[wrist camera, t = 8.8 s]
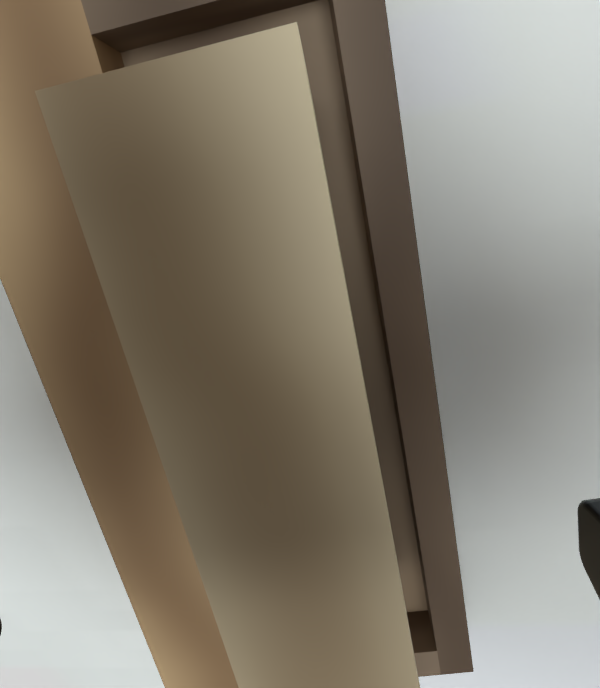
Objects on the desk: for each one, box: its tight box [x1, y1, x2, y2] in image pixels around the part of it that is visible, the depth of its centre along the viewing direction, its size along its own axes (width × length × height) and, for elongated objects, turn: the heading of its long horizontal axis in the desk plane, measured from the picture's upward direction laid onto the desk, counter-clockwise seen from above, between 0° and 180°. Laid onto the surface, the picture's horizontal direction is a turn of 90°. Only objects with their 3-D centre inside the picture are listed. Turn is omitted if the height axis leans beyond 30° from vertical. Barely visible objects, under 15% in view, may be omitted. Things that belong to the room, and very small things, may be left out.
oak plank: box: [35, 22, 420, 688], centre depth 11 cm, size 4×14×6 cm, turn 12°
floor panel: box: [0, 0, 473, 688], centre depth 14 cm, size 10×22×2 cm, turn 12°
